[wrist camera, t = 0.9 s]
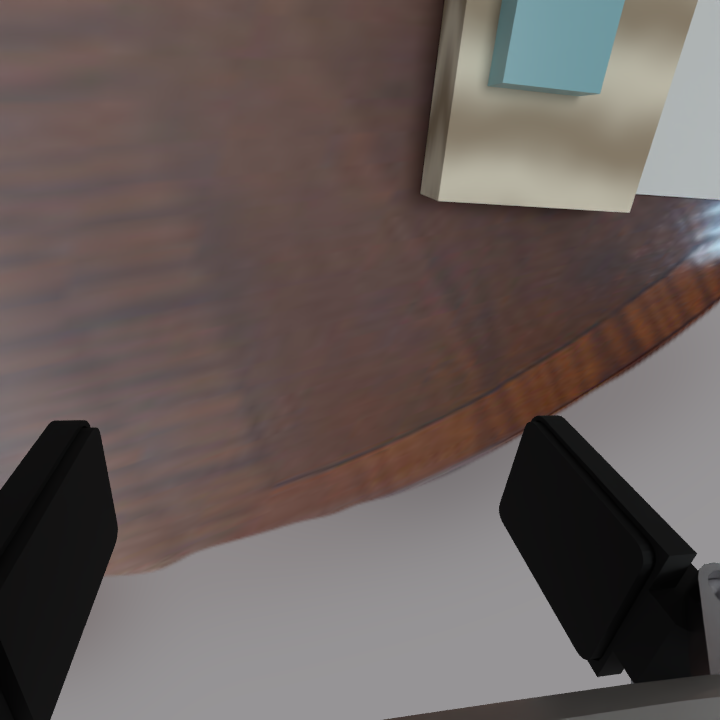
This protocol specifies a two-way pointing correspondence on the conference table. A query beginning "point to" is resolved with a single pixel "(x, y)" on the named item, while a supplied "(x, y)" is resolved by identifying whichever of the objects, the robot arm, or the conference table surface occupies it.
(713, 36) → the mat
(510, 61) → the blue rectangular block
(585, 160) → the beige flat block
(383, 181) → the conference table surface
